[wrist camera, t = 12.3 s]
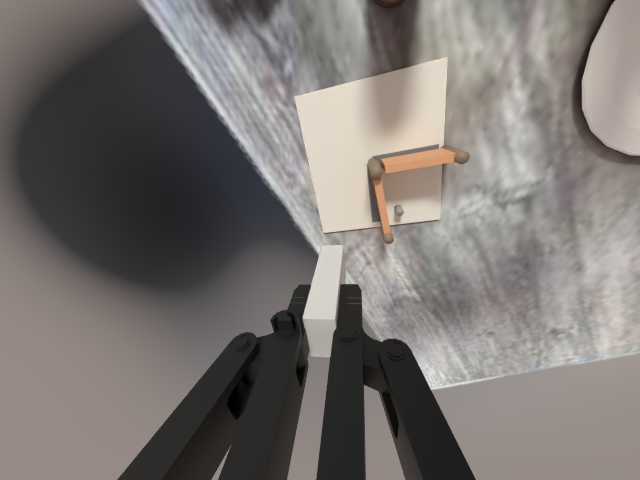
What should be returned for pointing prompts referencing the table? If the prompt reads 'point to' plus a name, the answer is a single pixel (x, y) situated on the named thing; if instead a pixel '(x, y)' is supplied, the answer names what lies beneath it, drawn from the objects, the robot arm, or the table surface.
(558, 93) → the table surface
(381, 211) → the panel
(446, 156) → the fixed panel
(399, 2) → the can
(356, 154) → the card
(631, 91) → the plate
